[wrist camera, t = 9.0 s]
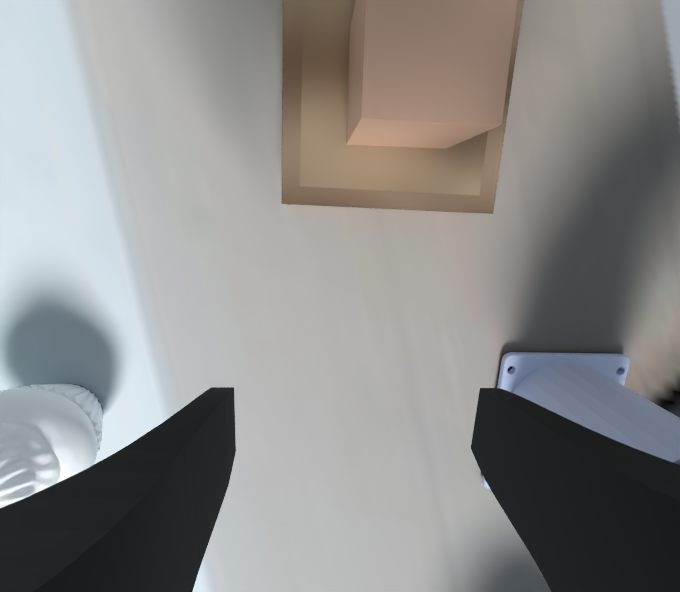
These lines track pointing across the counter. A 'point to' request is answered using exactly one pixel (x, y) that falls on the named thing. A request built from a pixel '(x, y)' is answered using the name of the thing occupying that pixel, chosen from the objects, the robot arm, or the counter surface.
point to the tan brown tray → (363, 160)
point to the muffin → (45, 437)
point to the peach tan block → (427, 70)
